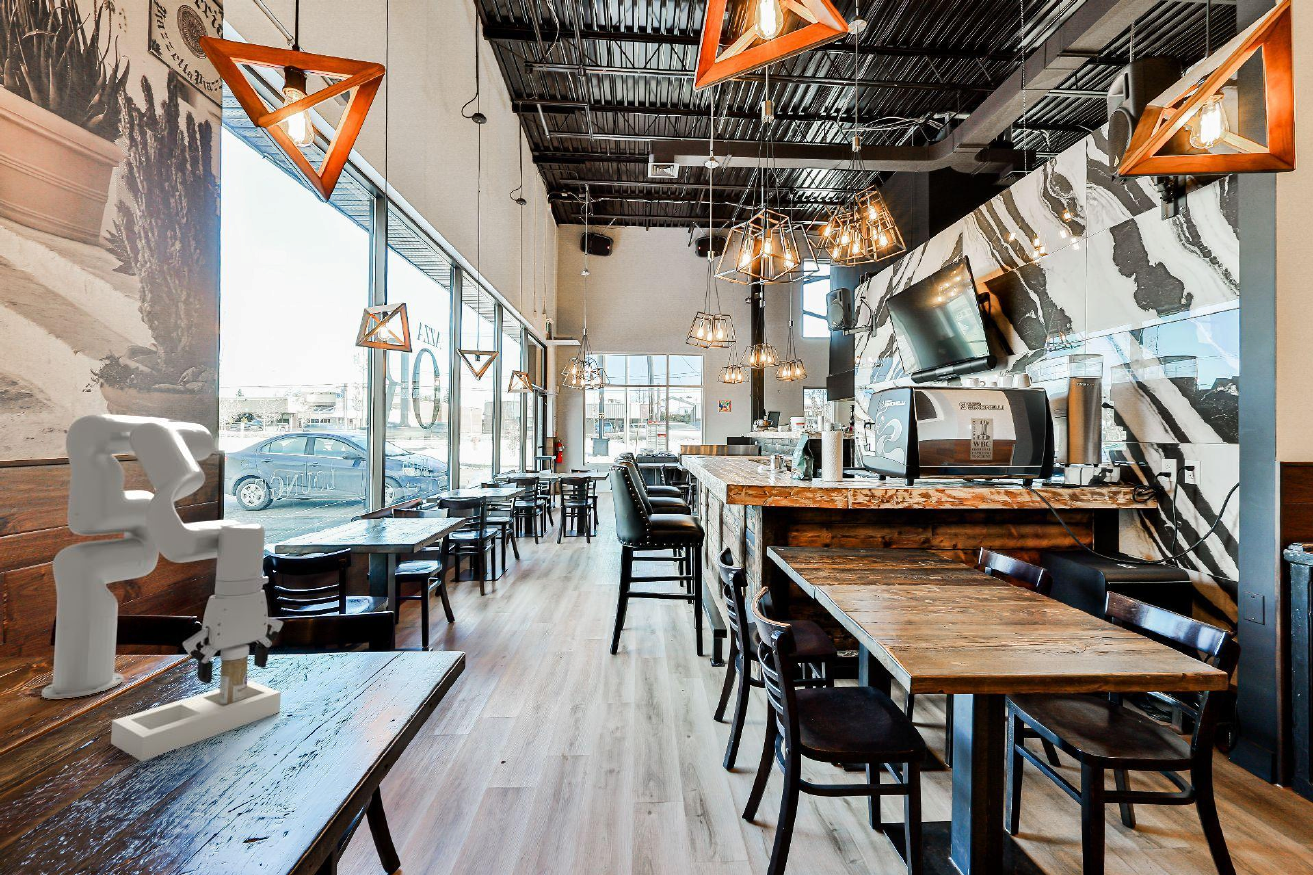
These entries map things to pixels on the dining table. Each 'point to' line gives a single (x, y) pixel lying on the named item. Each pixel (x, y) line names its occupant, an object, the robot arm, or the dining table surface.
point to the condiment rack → (190, 721)
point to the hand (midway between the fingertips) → (233, 673)
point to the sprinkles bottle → (233, 674)
